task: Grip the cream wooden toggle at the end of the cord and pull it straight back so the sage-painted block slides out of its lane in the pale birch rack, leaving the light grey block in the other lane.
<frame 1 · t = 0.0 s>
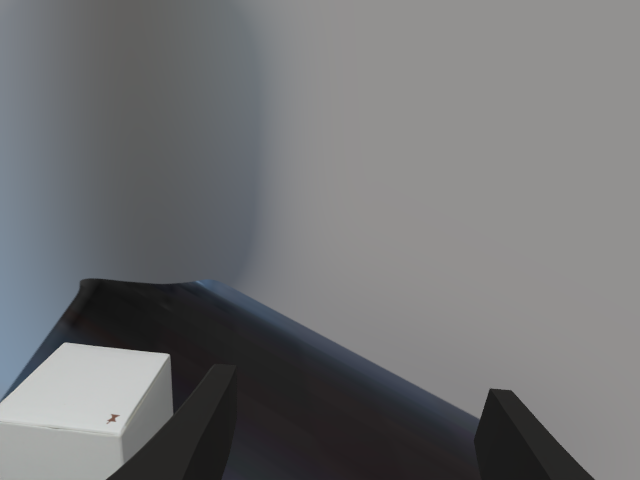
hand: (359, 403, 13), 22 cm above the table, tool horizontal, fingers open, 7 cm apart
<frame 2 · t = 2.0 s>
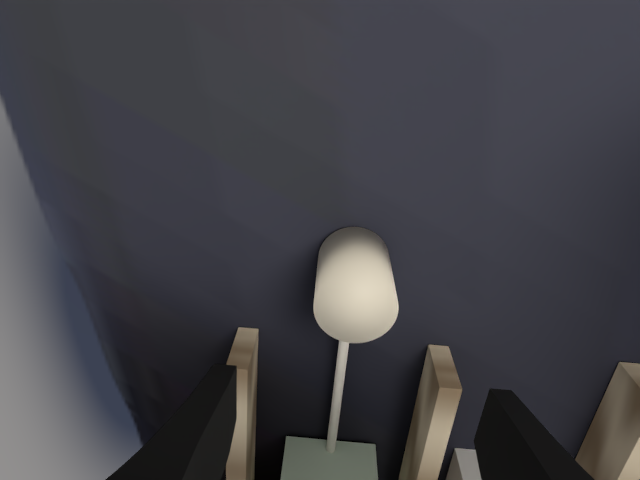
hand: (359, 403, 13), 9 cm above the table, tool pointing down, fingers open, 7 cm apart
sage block: (337, 422, 22), point 3 cm above the table, slide at 0.0 cm
lane rack: (415, 445, 27), on the table
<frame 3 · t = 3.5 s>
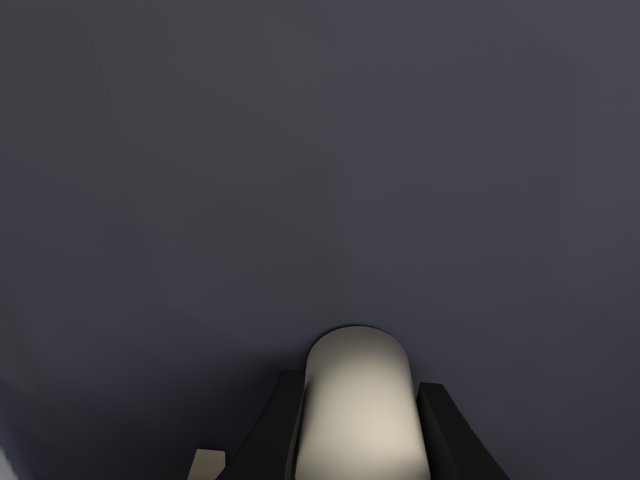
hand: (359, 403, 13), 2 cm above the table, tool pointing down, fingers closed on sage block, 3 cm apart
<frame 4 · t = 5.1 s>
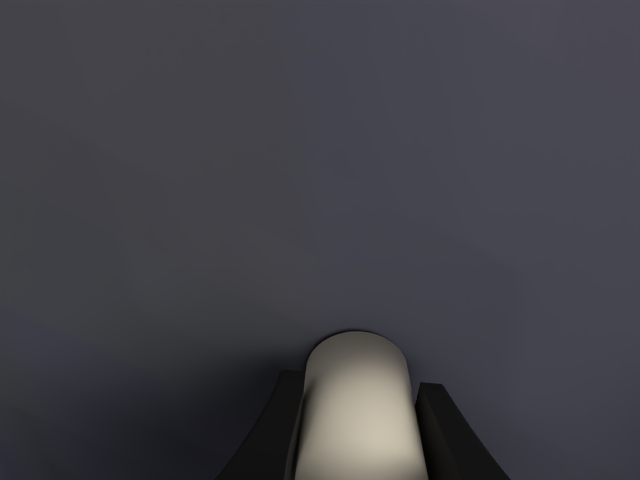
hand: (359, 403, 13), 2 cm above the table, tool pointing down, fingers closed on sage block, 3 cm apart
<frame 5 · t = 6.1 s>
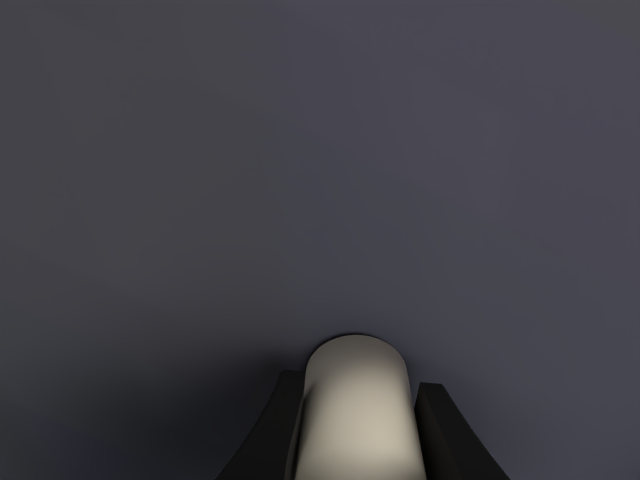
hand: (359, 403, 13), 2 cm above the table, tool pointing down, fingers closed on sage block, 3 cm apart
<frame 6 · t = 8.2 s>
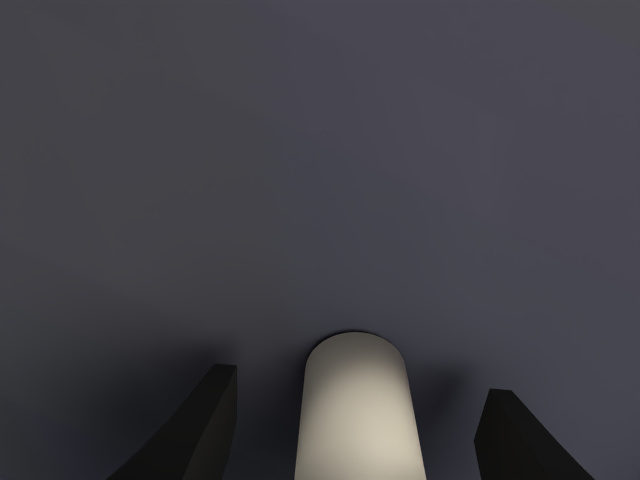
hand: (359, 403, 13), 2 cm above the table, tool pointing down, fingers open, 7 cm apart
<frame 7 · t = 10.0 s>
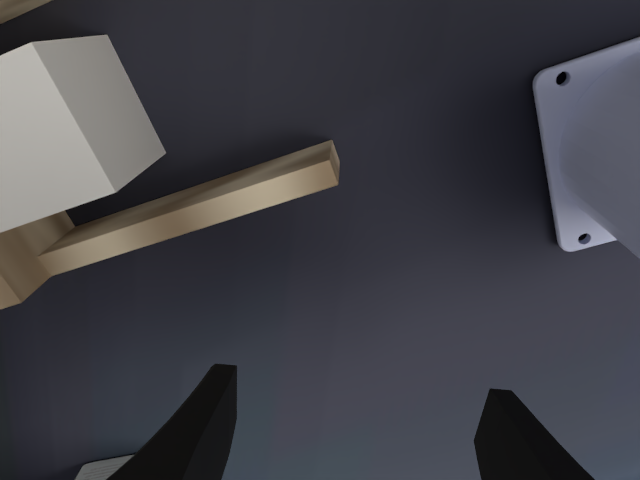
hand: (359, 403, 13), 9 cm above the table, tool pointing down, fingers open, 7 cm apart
grey block: (87, 116, 20), resting in lane rack
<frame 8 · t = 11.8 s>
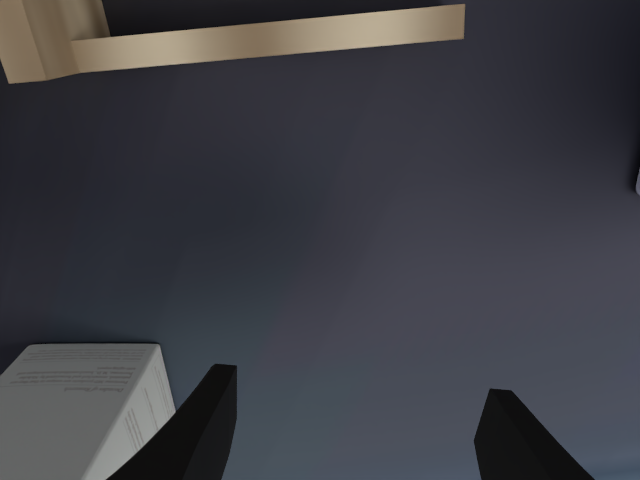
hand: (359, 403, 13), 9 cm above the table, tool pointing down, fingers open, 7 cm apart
supplement box: (111, 391, 27), on the table
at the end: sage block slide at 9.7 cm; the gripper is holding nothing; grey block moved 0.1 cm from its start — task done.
